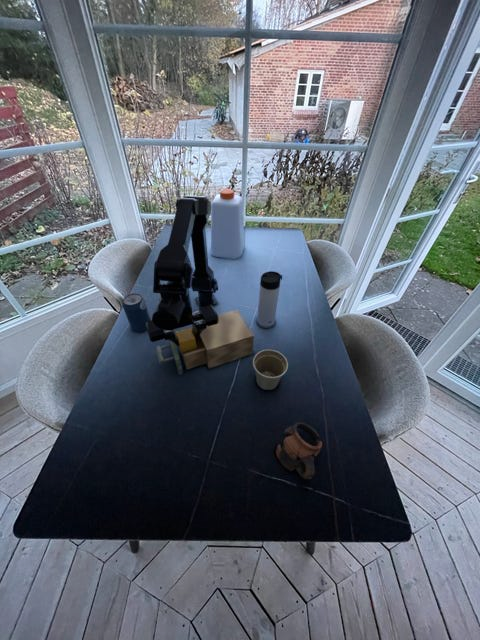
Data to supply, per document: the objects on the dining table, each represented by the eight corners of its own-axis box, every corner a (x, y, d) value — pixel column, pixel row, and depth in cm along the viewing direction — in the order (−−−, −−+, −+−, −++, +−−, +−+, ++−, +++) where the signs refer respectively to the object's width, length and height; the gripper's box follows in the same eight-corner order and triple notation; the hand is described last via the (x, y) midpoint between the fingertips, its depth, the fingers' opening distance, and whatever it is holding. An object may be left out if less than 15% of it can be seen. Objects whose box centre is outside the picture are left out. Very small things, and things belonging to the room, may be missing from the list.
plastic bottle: (217, 242, 137) (214, 184, 118) (245, 245, 135) (247, 187, 116) (208, 257, 126) (204, 195, 107) (239, 261, 124) (241, 199, 105)
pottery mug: (268, 440, 65) (284, 416, 62) (299, 444, 68) (315, 421, 65) (285, 489, 55) (306, 464, 52) (321, 491, 58) (341, 467, 55)
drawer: (164, 379, 75) (159, 365, 71) (156, 351, 83) (152, 336, 78) (222, 360, 81) (222, 345, 76) (210, 335, 88) (209, 320, 83)
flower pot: (286, 372, 79) (291, 354, 73) (279, 399, 72) (284, 382, 66) (256, 364, 81) (258, 345, 75) (247, 389, 74) (248, 371, 69)
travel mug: (274, 329, 92) (281, 282, 78) (255, 326, 93) (259, 279, 79) (276, 317, 96) (283, 271, 82) (258, 315, 97) (262, 268, 83)
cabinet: (208, 368, 79) (206, 350, 73) (196, 339, 88) (193, 321, 82) (252, 354, 84) (254, 335, 78) (237, 328, 92) (237, 309, 86)
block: (177, 342, 79) (175, 331, 76) (192, 337, 80) (190, 327, 77) (181, 353, 76) (179, 342, 73) (196, 348, 77) (195, 338, 74)
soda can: (156, 323, 93) (148, 296, 85) (142, 335, 89) (132, 308, 80) (141, 316, 95) (132, 289, 87) (126, 328, 91) (116, 301, 83)
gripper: (204, 277, 75) (208, 317, 86) (136, 292, 69) (149, 333, 80) (218, 300, 68) (220, 341, 78) (143, 319, 62) (156, 360, 73)
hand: (186, 342), depth 77 cm, fingers closed on block, 4 cm apart
